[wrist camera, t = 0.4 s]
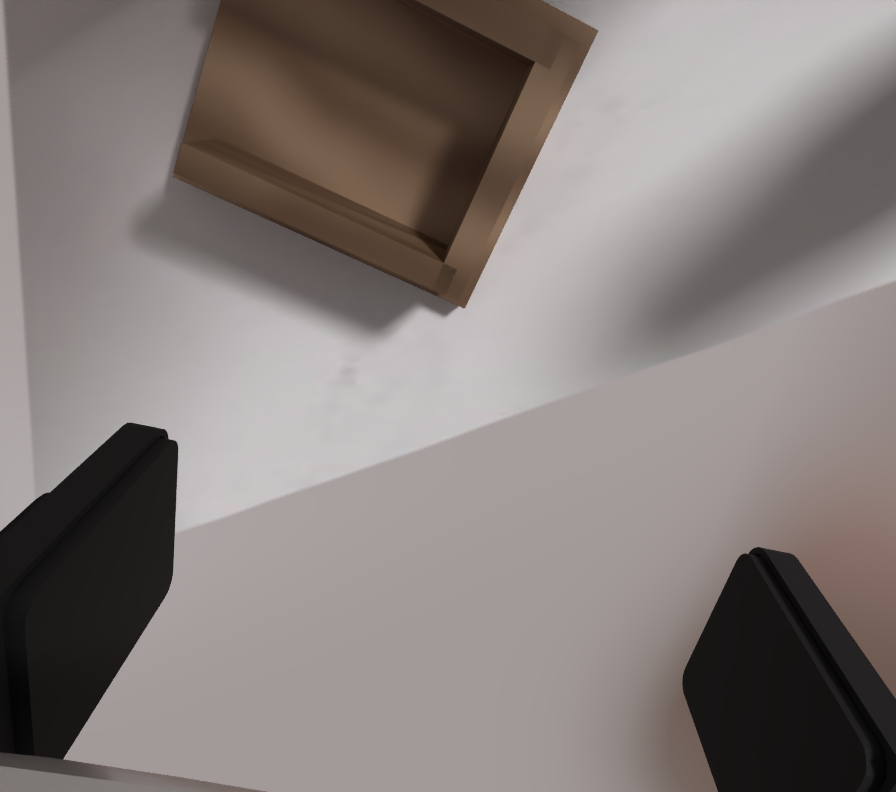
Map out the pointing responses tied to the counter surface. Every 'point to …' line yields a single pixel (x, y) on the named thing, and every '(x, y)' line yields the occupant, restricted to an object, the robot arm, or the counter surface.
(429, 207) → the dock
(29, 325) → the counter surface
